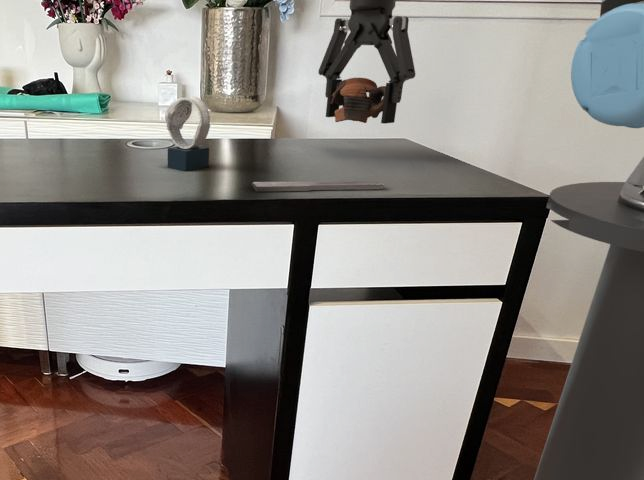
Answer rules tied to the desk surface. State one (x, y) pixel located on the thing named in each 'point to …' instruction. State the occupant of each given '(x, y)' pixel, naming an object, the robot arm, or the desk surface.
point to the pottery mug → (358, 99)
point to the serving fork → (315, 186)
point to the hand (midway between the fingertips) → (358, 119)
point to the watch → (184, 154)
